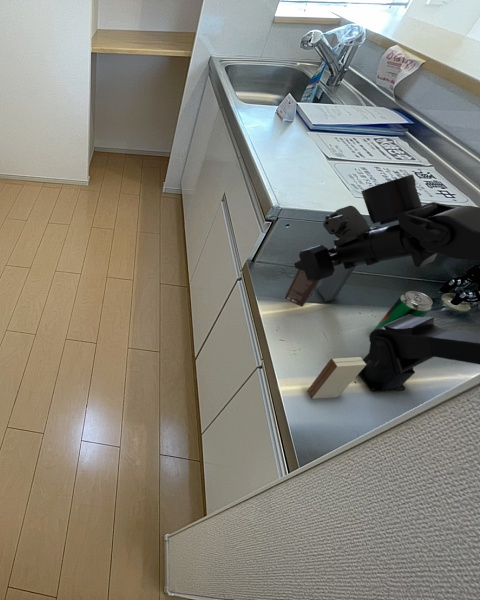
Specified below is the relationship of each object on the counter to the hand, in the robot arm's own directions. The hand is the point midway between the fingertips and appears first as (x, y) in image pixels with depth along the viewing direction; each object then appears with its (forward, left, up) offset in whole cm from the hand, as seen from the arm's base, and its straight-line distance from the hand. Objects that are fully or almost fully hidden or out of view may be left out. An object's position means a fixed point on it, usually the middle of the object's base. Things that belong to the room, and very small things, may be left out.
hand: (307, 260), depth 76 cm
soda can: (-12, -16, -14) cm, 24 cm away
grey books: (+2, -11, -13) cm, 17 cm away
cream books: (-25, +4, -13) cm, 29 cm away
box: (-2, -1, -10) cm, 10 cm away
